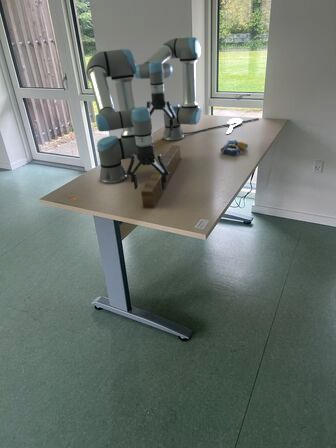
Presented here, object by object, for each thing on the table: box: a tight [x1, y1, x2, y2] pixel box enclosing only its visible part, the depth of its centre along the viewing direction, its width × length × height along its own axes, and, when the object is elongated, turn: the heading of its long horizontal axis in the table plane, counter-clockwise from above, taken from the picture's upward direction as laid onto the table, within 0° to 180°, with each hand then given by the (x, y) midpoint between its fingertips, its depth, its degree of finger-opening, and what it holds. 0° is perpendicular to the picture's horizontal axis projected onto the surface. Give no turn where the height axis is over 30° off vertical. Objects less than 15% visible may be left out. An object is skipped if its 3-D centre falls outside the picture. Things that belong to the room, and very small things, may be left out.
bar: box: [140, 145, 181, 209], centre depth 182 cm, size 64×5×9 cm, turn 167°
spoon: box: [226, 117, 243, 135], centre depth 260 cm, size 35×11×2 cm, turn 159°
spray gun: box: [220, 139, 249, 156], centre depth 214 cm, size 21×4×15 cm
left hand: (149, 188), depth 158 cm, fingers open, 13 cm apart
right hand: (160, 130), depth 198 cm, fingers open, 13 cm apart
